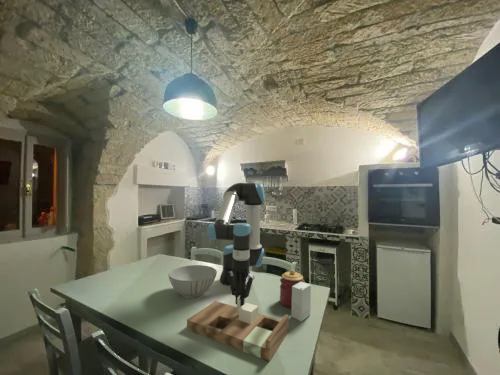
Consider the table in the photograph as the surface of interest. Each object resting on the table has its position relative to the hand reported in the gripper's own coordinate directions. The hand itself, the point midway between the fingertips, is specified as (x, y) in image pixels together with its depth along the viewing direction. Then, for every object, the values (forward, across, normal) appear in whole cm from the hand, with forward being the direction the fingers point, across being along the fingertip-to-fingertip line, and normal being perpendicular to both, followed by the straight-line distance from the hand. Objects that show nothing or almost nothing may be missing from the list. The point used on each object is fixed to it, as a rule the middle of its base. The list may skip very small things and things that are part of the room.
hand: (239, 312), depth 103 cm
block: (+1, +5, -1) cm, 5 cm away
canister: (+6, +14, +32) cm, 35 cm away
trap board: (+5, +2, -4) cm, 7 cm away
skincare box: (+6, +22, +21) cm, 30 cm away
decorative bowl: (+6, -39, +14) cm, 42 cm away
